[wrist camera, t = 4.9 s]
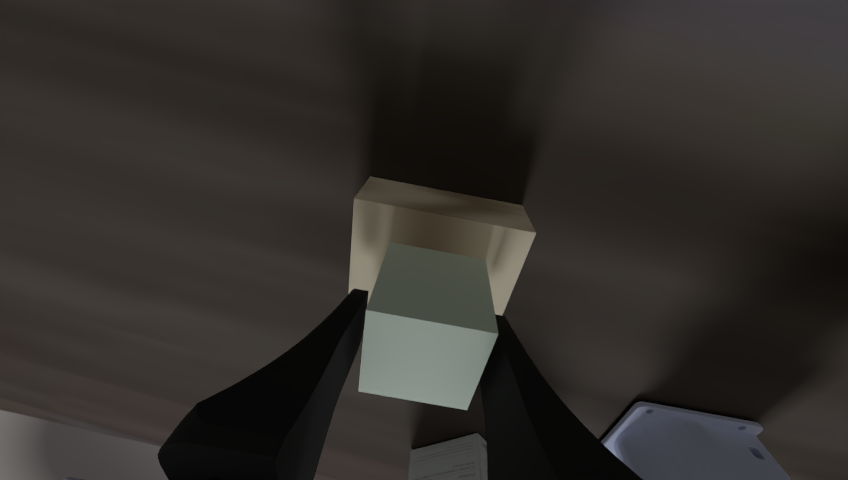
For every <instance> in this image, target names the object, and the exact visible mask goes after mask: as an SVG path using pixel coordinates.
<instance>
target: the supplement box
mask: <svg viewBox="0 0 848 480" xmlns="http://www.w3.org/2000/svg"><path fill="white" fill-rule="evenodd" d="M408 480H488V476H487V442H486V441H485V440H484V439H483V438H482V437H481V436H480V435H479V434H478V433H474V434H471V435H467V436H464V437H460V438H456V439H452V440H449V441H445V442H441V443H437V444H433V445H430V446H426V447H422V448H418V449H414V450H411V453H410V464H409V474H408Z"/></svg>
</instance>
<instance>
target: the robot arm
mask: <svg viewBox="0 0 848 480" xmlns="http://www.w3.org/2000/svg"><path fill="white" fill-rule="evenodd" d="M368 292H369V291H366V290H361V289H353V290H352V291H351V292H350V293H349V294H348V295H347V297H346V298H345V299H344V300H343V301H342V302H341V303H340V305H339V306H338V307H337V308H336V309H335V310H334V311H333V312H332V313H331V314H330V315H329V316H328V317H327V318H326V319H325V320H324V321H323V322H322V323H321V324H320V325H318V326H317V327H316V328H315V329H314V330H313V331H312V332H311V333H309V334H308V335H307V336H306V337H305V338H304V339H302V340H301V341H300V342H299V343H297V344H296V345H295V346H293V347H292V348H291V349H289V350H288V351H287V352H285V353H284V354H283V355H281V356H280V357H278V358H277V359H275V360H274V361H272V362H271V363H269V364H268V365H266V366H265V367H263V368H262V369H260V370H258V371H257V372H255V373H253V374H252V375H250V376H248V377H246V378H245V379H243V380H241V381H240V382H238V383H236V384H234V385H233V386H231V387H229V388H227V389H225V390H223V391H221V392H219V393H217V394H215V395H213V396H211V397H209V398H207V399H205V400H203V401H201V402H199V403H197V404H196V405H195V407H194V408H193V409H192V410H191V411H190V412H189V413H188V414H187V415H186V416H185V418H184V419H183V420H182V421H181V422H180V423H179V425H178V426H177V427H176V429H175V430H174V431H173V433H172V434H171V435H170V437H169V438H168V439H167V441H166V442H165V443H164V444H163V446H162V447H161V449H160V450H159V453H158V459H159V462H160V465H161V467H162V468H163V470H164V472H165V474H166V476H167V477H168V479H169V480H313V479H314V476H315V472H316V469H317V465H318V462H319V458H320V455H321V452H322V448H323V445H324V442H325V438H326V435H327V432H328V428H329V425H330V422H331V419H332V415H333V412H334V409H335V406H336V403H337V400H338V397H339V395H340V392H341V390H342V387H343V385H344V383H345V380H346V378H347V375H348V373H349V370H350V368H351V365H352V363H353V360H354V358H355V356H356V353H357V351H358V348H359V345H360V342H361V338H362V335H363V331H364V325H365V314H366V308H367V302H368ZM495 316H496V322H497V328H498V336H497V339H496V341H495V344H494V346H493V349H492V351H491V353H490V356H489V358H488V361H487V363H486V366H485V368H484V370H483V373H482V375H481V378H480V385H481V393H482V400H483V408H484V416H485V425H486V439H487V476H488V480H791V478H790V477H789V476H788V475H787V474H786V472H785V471H784V470H783V469H782V468H781V466H780V465H779V464H778V463H777V461H776V460H775V459H774V458H773V457H772V455H771V454H770V453H769V452H768V450H767V449H766V448H765V447H764V446H763V444H762V443H761V442H760V441H759V439H758V438H757V437H756V435H758V434H759V433H760V432H762V430H763V428H762V427H761V425H760V424H759V423H757V422H753V421H748V420H742V419H737V418H731V417H726V416H720V415H715V414H709V413H704V412H698V411H693V410H687V409H682V408H676V407H671V406H665V405H660V404H654V403H649V402H642V401H641V402H637V403H635V404H634V405H633V406H632V407H631V408H630V410H629V411H628V412H627V413H626V414H625V415H624V416H623V417H622V419H621V420H620V421H619V422H618V423H617V424H616V425H615V426H614V428H613V429H612V430H611V431H610V432H609V433H608V434H607V435H606V436H605V438H604V439H603V440H602V441H601V442H600V441H599V440H598V439H597V438H596V437H595V436H594V435H593V434H592V433H591V432H590V431H589V430H588V429H587V428H586V427H585V426H584V425H583V424H582V423H581V422H580V421H579V420H578V418H577V417H576V416H575V415H574V414H573V413H572V412H571V411H570V410H569V409H568V407H567V406H566V405H565V404H564V403H563V402H562V400H561V399H560V398H559V397H558V396H557V394H556V393H555V392H554V391H553V390H552V388H551V387H550V386H549V384H548V383H547V382H546V380H545V379H544V378H543V376H542V375H541V373H540V372H539V371H538V369H537V368H536V366H535V365H534V363H533V362H532V360H531V359H530V357H529V356H528V354H527V353H526V351H525V349H524V348H523V346H522V345H521V343H520V341H519V340H518V338H517V336H516V335H515V333H514V331H513V329H512V328H511V326H510V324H509V323H508V321H507V319H506V318H505V316H501V315H496V314H495ZM63 480H83V479H77V478H72V477H68V478H65V479H63Z"/></svg>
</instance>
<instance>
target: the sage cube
mask: <svg viewBox="0 0 848 480" xmlns="http://www.w3.org/2000/svg"><path fill="white" fill-rule="evenodd" d="M497 336H498V328H497V322H496V316H495V311H494V305H493V299H492V293H491V288H490V282H489V276H488V270H487V265H486V260H485V259H480V258H474V257H469V256H463V255H458V254H452V253H447V252H442V251H436V250H431V249H425V248H420V247H414V246H409V245H403V244H398V243H392V242H390V243H389V245H388V248H387V251H386V254H385V257H384V260H383V263H382V265H381V268H380V271H379V274H378V277H377V280H376V282H375V285H374V288H373V291H372V294H371V297H370V300H369V302H368V305H367V308H366V314H365V325H364V335H363V346H362V357H361V368H360V379H359V390H358V391H360V392H366V393H371V394H377V395H383V396H388V397H394V398H400V399H406V400H411V401H417V402H423V403H428V404H434V405H440V406H445V407H451V408H457V409H462V410H467V409H468V407H469V404H470V402H471V399H472V397H473V395H474V392H475V390H476V387H477V385H478V383H479V380H480V378H481V375H482V373H483V370H484V368H485V366H486V363H487V361H488V358H489V356H490V353H491V351H492V349H493V346H494V344H495V341H496V339H497Z"/></svg>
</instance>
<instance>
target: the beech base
mask: <svg viewBox="0 0 848 480" xmlns="http://www.w3.org/2000/svg"><path fill="white" fill-rule="evenodd" d="M535 235H536V232H535V230H534V228H533V226H532V224H531V222H530V220H529V218H528V216H527V214H526V212H525V210H524V208H523V206H522V205H517V204H512V203H507V202H502V201H496V200H491V199H486V198H481V197H476V196H470V195H465V194H460V193H455V192H450V191H444V190H439V189H434V188H429V187H423V186H418V185H413V184H408V183H403V182H397V181H392V180H387V179H382V178H377V177H371V176H370V177H369V179H368V180H367V181H366V183H365V184H364V185H363V187H362V188H361V190H360V191H359V192H358V194H357V195H356V196H355V198H354V207H353V224H352V242H351V259H350V276H349V293H350V292H351V291H352V290H353V289H361V290H366V291H369V292H368V302H369V300H370V297H371V294H372V291H373V288H374V285H375V282H376V280H377V277H378V274H379V271H380V268H381V265H382V263H383V260H384V257H385V254H386V251H387V248H388V245H389V243H390V242H392V243H398V244H403V245H409V246H414V247H420V248H425V249H431V250H436V251H442V252H447V253H452V254H458V255H463V256H469V257H474V258H480V259H485V260H486V265H487V270H488V276H489V282H490V288H491V293H492V299H493V305H494V311H495V314H496V315H501V316H502V315H503V312H504V310H505V308H506V305H507V303H508V300H509V298H510V295H511V293H512V291H513V288H514V286H515V283H516V281H517V278H518V276H519V274H520V271H521V269H522V266H523V264H524V261H525V259H526V256H527V254H528V252H529V249H530V247H531V244H532V242H533V239H534V237H535ZM349 293H348V294H349ZM368 302H367V305H368ZM363 332H364V331H363Z"/></svg>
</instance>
